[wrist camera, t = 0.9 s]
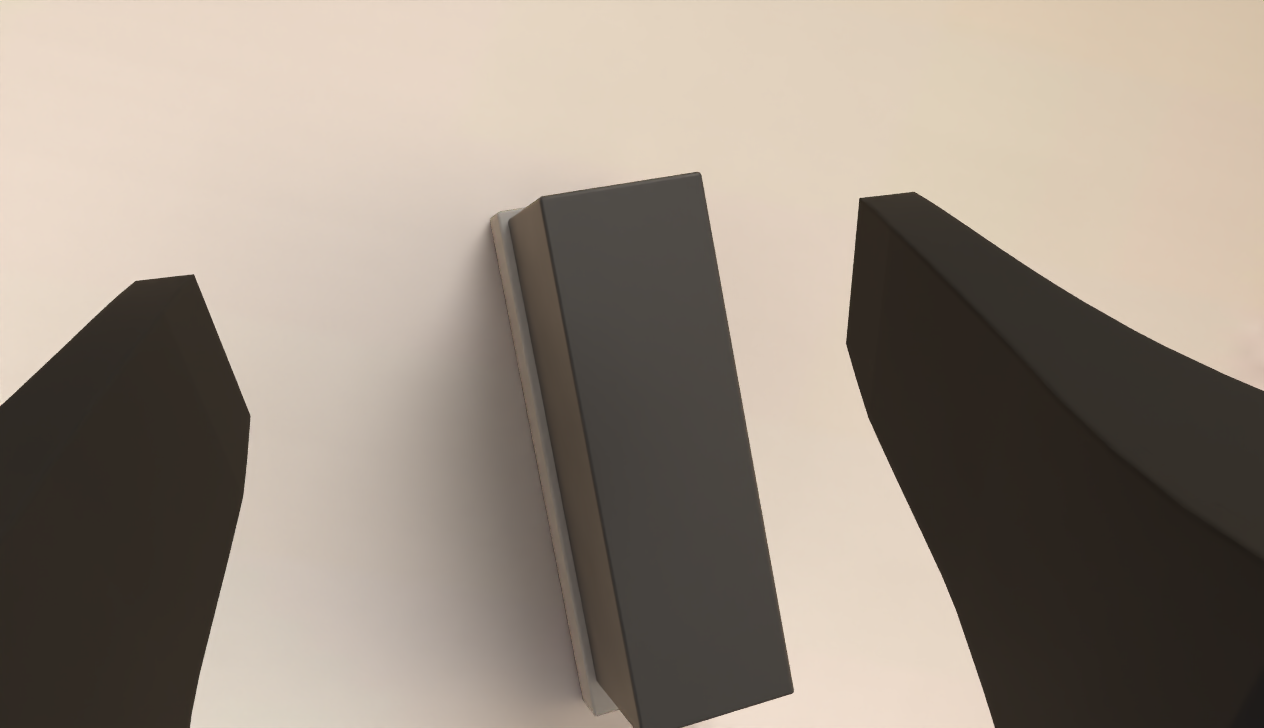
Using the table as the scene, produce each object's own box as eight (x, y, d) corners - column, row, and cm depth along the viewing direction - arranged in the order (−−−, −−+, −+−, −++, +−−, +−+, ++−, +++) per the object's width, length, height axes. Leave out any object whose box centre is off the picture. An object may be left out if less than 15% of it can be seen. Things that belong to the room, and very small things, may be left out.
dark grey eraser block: (725, 659, 27) (811, 728, 22) (582, 701, 26) (640, 782, 21) (639, 193, 26) (709, 159, 21) (488, 217, 25) (526, 187, 20)
